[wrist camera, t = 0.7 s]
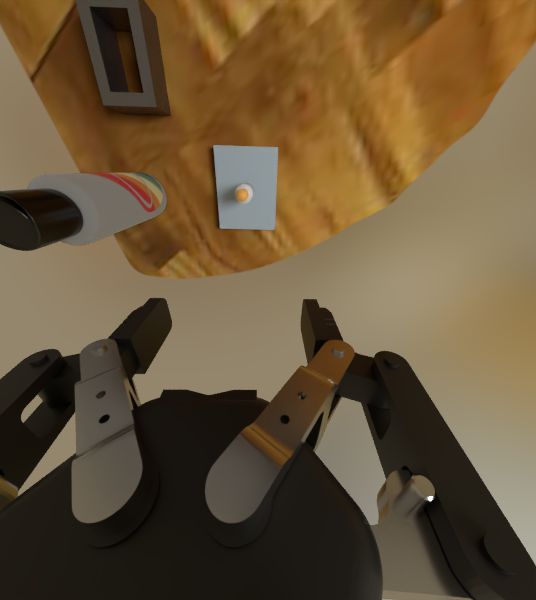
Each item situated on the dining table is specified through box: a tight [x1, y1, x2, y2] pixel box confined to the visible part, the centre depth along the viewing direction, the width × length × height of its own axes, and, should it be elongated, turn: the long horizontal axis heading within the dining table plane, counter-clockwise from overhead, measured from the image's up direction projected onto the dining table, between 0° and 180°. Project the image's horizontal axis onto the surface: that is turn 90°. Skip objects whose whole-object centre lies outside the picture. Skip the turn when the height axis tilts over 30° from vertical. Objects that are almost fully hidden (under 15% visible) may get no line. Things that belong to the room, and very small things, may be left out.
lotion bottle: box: [0, 173, 167, 251], centre depth 23 cm, size 6×6×20 cm
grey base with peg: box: [213, 145, 278, 230], centre depth 28 cm, size 10×8×8 cm
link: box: [76, 0, 171, 115], centre depth 23 cm, size 8×6×4 cm
